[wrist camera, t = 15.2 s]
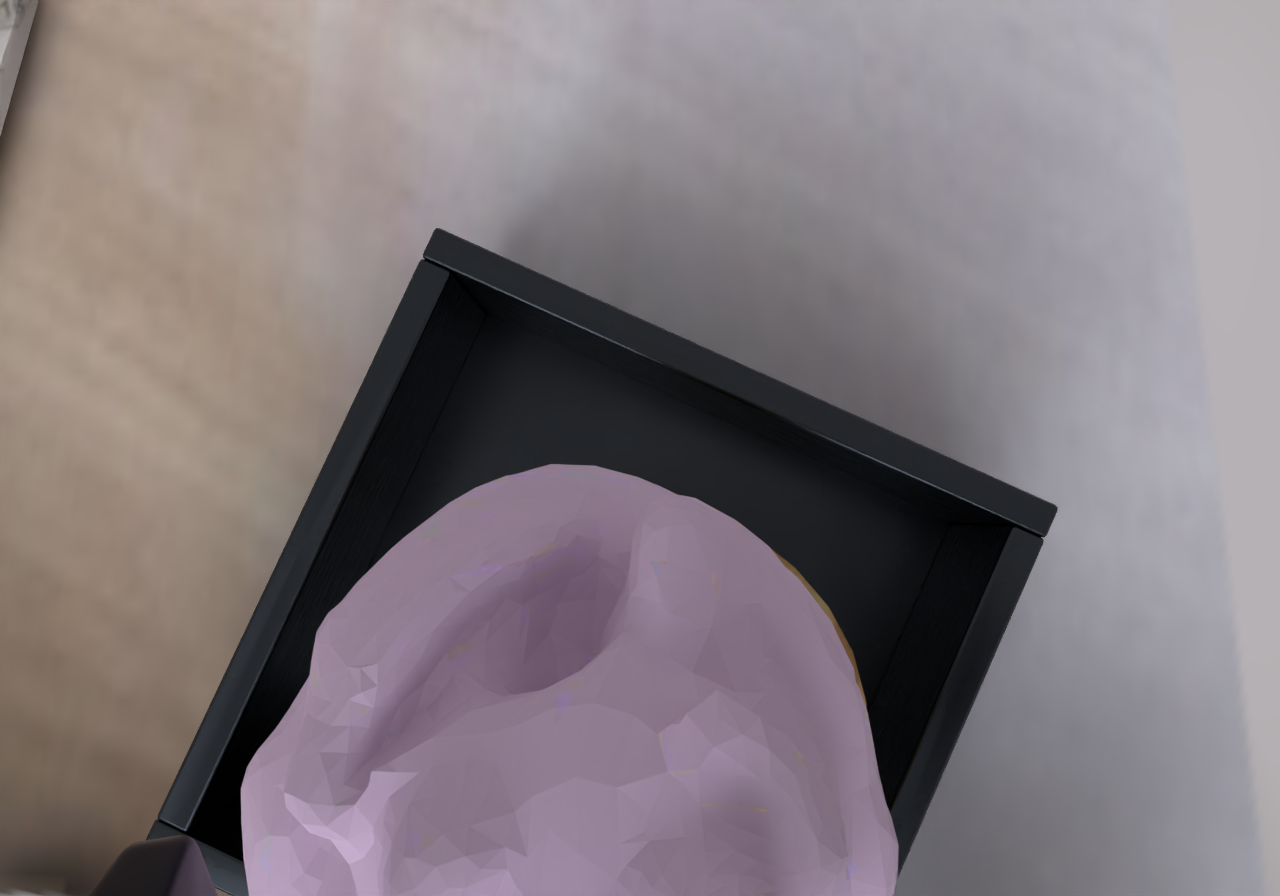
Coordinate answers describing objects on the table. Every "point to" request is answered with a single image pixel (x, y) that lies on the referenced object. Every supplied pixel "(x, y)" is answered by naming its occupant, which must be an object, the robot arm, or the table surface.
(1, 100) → the packaged product
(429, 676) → the ice cream cone
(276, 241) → the table surface
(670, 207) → the table surface
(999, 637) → the open black storage bin
